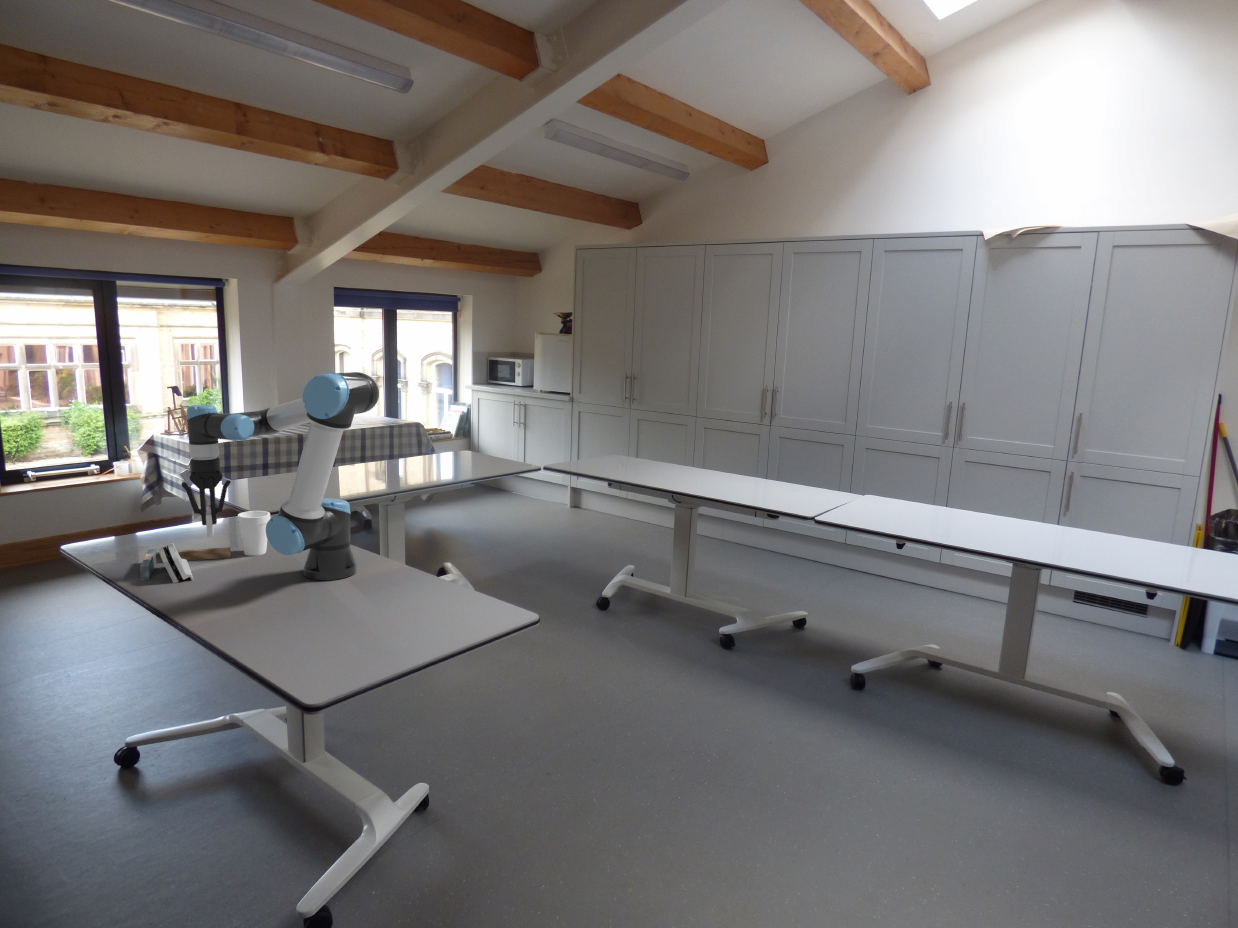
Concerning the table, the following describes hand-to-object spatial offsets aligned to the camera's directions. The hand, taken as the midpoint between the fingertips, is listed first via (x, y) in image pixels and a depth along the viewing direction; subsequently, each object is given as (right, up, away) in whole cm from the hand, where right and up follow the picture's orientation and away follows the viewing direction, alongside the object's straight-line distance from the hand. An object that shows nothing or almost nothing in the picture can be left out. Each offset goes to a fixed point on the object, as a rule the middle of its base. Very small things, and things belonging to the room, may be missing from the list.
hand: (210, 535), depth 215 cm
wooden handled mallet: (-8, -10, +3) cm, 13 cm away
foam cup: (+3, -8, +20) cm, 22 cm away
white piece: (-8, -11, -3) cm, 15 cm away
